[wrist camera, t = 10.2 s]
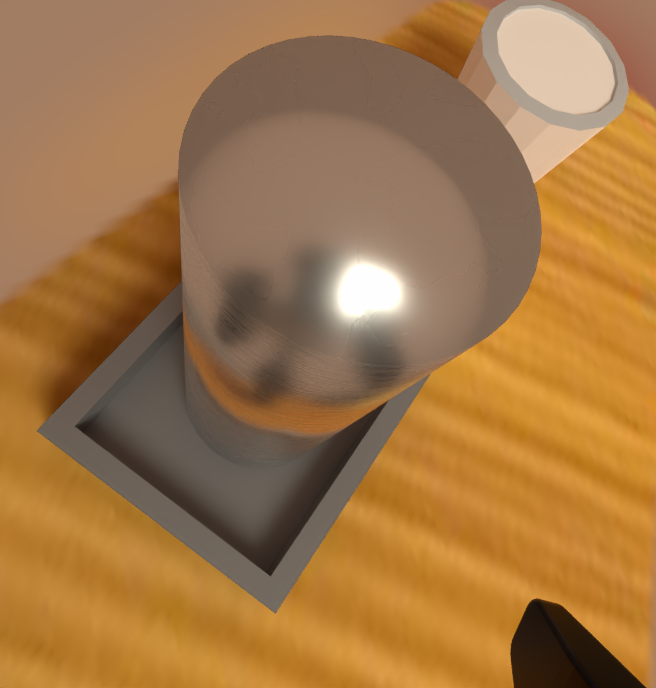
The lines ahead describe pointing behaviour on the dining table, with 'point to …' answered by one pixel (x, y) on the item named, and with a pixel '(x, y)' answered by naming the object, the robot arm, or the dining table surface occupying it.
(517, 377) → the dining table surface
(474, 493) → the dining table surface
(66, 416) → the tray
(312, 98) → the silver metal cylinder
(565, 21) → the white cup
